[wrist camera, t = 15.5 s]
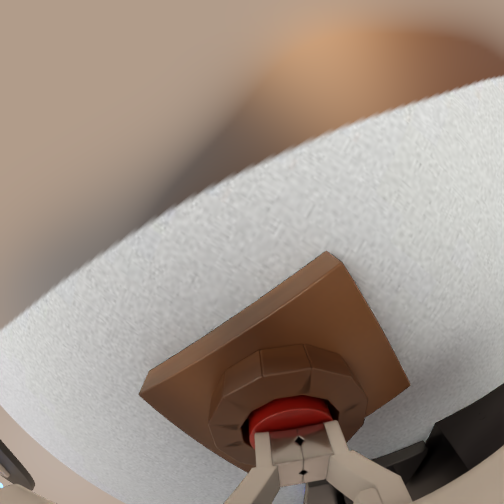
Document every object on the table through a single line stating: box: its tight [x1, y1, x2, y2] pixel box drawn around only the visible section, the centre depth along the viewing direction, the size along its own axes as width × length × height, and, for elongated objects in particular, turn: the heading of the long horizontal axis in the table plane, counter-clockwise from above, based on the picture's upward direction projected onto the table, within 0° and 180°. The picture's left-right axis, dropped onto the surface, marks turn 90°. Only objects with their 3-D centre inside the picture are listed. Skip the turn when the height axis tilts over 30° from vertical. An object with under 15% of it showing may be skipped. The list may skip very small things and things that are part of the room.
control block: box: [139, 251, 410, 473], centre depth 10 cm, size 10×8×4 cm
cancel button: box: [248, 395, 333, 449], centre depth 9 cm, size 3×3×2 cm
